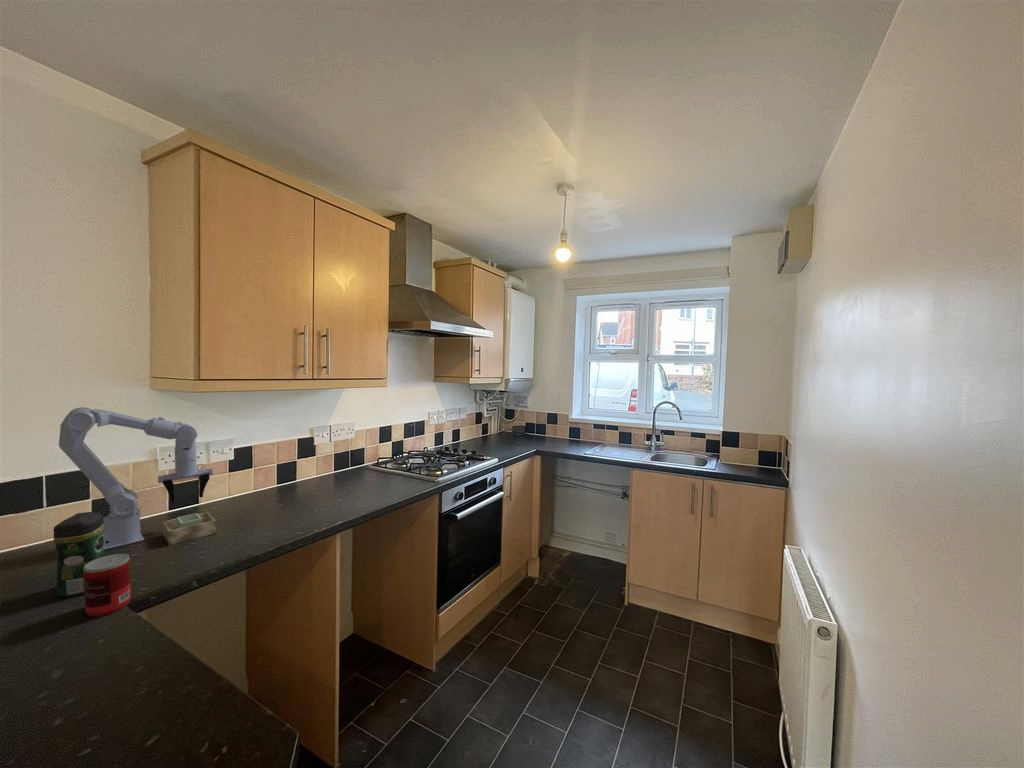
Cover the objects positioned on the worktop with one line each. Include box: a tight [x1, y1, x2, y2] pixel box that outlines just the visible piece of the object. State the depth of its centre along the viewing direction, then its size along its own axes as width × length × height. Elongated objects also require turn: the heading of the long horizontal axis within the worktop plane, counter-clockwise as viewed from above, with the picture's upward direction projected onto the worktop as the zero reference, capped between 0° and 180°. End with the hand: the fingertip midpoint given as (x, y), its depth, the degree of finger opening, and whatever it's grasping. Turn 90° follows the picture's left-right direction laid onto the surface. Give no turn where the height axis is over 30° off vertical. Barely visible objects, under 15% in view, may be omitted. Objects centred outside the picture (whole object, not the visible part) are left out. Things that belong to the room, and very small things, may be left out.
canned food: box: [83, 553, 132, 617], centre depth 96 cm, size 8×8×11 cm
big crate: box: [162, 511, 217, 546], centre depth 136 cm, size 12×11×4 cm
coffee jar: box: [53, 511, 106, 597], centre depth 103 cm, size 10×8×19 cm
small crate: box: [176, 512, 202, 529], centre depth 136 cm, size 5×7×5 cm
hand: (187, 499), depth 140 cm, fingers open, 7 cm apart
